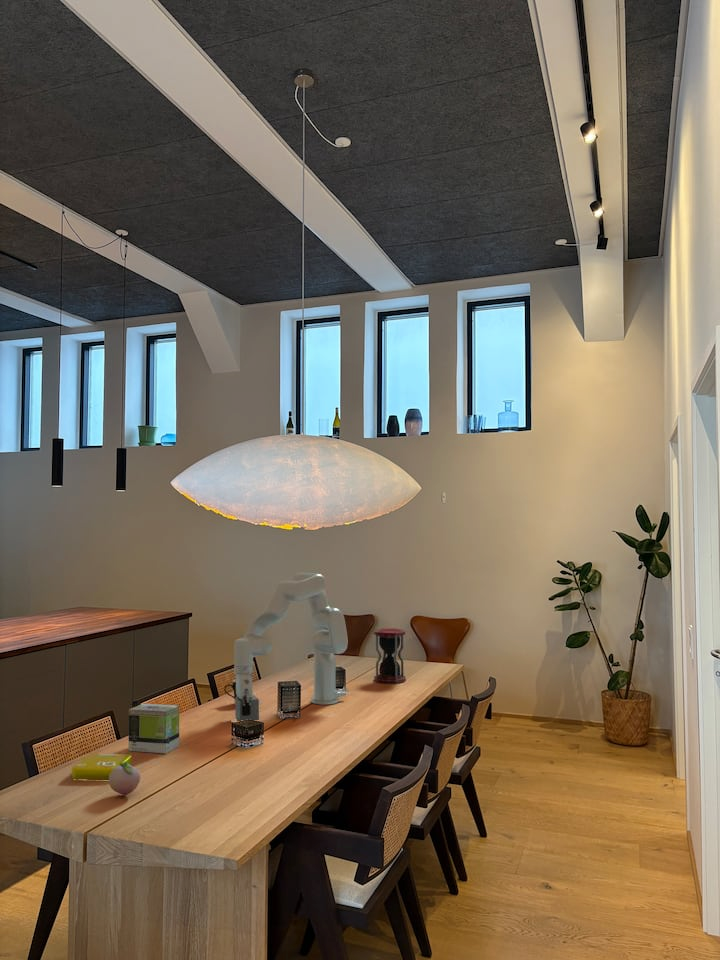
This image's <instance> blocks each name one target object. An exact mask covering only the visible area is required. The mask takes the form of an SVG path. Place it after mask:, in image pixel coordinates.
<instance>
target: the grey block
mask: <svg viewBox="0 0 720 960" xmlns="http://www.w3.org/2000/svg"><path fill="white" fill-rule="evenodd" d="M244 698H245V697H244ZM244 701H245V700H244ZM242 705H243V701H242V700H241V699H240V698H239V697H235V699H234V706H235V707H234V709H235V710H234V711H235V713H234V714H235V715H234V716H235V717H234V718H236V719H237V721H241V720H246V719H251V720H259V721H260V706H259V705H260V702H259V698H258V697H256V695H255V694H253V698H252V699H250V715H247V716H243V715H242Z"/></svg>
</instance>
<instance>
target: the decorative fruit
mask: <svg viewBox="0 0 720 960" xmlns="http://www.w3.org/2000/svg"><path fill="white" fill-rule="evenodd" d="M140 781H141V773H140V772H139V770H138V768H136V767H135V766H132V764H131V765H128V764H127V763H126V761H125V762H123V763H119V766H117V767H116V768H114V769H113V770H112V771H111V773H110V775H109V781H108V783H109V784H108V785H109V787H110V788H111V790H113V792H116V793H118V794H119V795H122V796H124V795H126V796H128V795H130V794H131V793H133V792H134V791H135V790H136V789H137V787H138V785H139V783H140Z"/></svg>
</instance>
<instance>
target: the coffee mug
mask: <svg viewBox="0 0 720 960" xmlns="http://www.w3.org/2000/svg"><path fill="white" fill-rule="evenodd" d="M227 687H231V688H232V689H233V695H232V694H230V693H229V692H227V689H226V688H227ZM223 689H224V693H226V695H228V696H229V697H231V698H233V699H234V700H235V697H237V695H236V679H233V680H232V684H231V683H230V684H227V685H224V687H223Z"/></svg>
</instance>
